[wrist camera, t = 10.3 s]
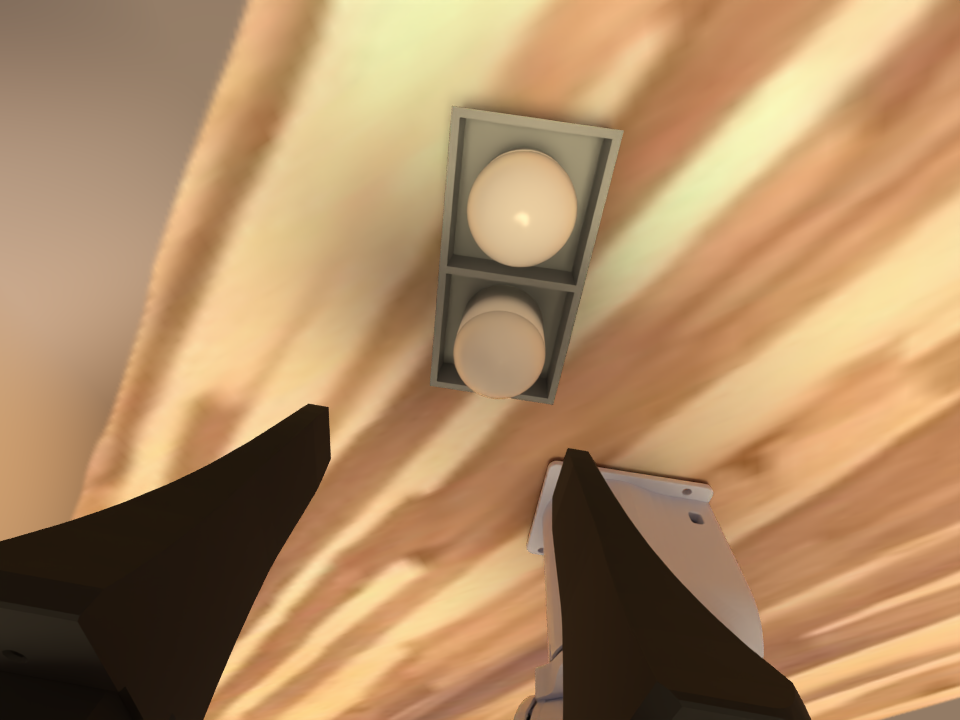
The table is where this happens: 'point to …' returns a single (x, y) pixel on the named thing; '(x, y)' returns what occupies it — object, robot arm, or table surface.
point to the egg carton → (471, 270)
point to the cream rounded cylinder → (522, 208)
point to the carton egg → (500, 342)
